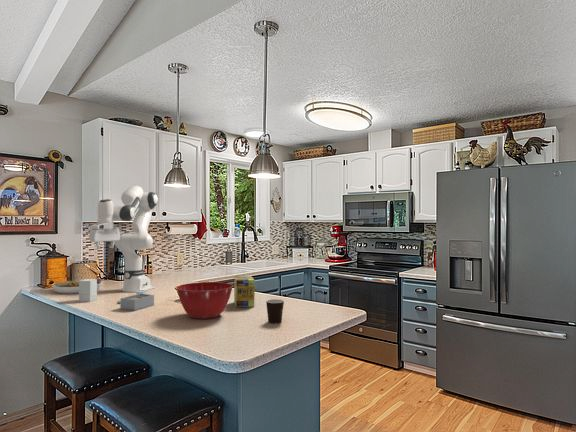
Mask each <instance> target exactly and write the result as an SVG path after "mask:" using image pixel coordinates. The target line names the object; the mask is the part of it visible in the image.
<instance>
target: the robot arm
mask: <svg viewBox="0 0 576 432" xmlns="http://www.w3.org/2000/svg"><path fill="white" fill-rule="evenodd" d="M120 199H121V202H122V204H121V205H118V204H115V203H114V202H113V200H112V199H109V198H107V199H100V200H99V201H98V204H97V220H96V221H97V223H94V224H91V225H90V226H89V237H88V239H89V242H91V243H94V244H95V246H96V250H101V249H102V245H100V242H110V245H108V246H109V249H114V246H115V247H116V248H117V250H119V251H120V253H122V255H123V258H124V259H123V260H124V271H123V275H124V278H123V284H122V285H123V286H122V289H121V290H122V292H124V293H125V292H126V293H127V292H128V293H134V292H136V293H137V292H138V291H144V292H146V291H149V290H152V289H155V288H156V287H155V286H154V285H152V279H150V278H149V277H148V276H146V274H145V273H147V269H143V258H142V256H140V255H138V253H136V251H135V250H139V251H140V250H141V251H142V250H143V251H144V250H149V249H151V248H152V246H153V244H154V239H153V237H152V236H151V235H150V234H149V231H148V229H149V227H150V223H151V220H152V212H153V211H152V210H153V209H154V208H155V207H156V206H157V205H158V202H159V197H158V195H157V193H156V192H153V191H149V192H148V191H144V189H143V188H142V187H141V186H140V185H133V186H130V187H129V188H127V189H126V190H124V191H123V193H121V196H120ZM132 220H133V221H132ZM114 221H120V222H122V221H124V222H130V221H132V222H131V225H130V226H131V229H132V231H133V232H134V233H122V234H121V233H120V232H121V231H120V229H119V228H120V227H118V226H117V225H114Z"/></svg>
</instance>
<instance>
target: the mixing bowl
mask: <svg viewBox="0 0 576 432" xmlns="http://www.w3.org/2000/svg"><path fill="white" fill-rule="evenodd" d="M233 288H234V285H233V284H232V283H227V282H221V281H220V282H218V281H217V282H216V281H214V282H213V281H212V282H211V281H204V282H203V281H202V282H191V283H190V282H189V283H183V284H180V285H177V286H176V290H177V294H178V298H179V300H180V304H181V306H182V307H183V309H184V311H185V313H186V314H187V315H188V316H189V317H191V318H193V319H197V320H199V319H200V320H203V319H204V320H205V319H206V320H207V319H213V318H217V317H219V315H221V314H222V313H223V312H224V310H225V309H226V307H227V305H228V302H229V300H230V298H231V294H232V291H233Z"/></svg>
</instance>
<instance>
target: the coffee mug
mask: <svg viewBox="0 0 576 432" xmlns="http://www.w3.org/2000/svg"><path fill="white" fill-rule="evenodd" d="M284 302H285V300H282V299H275V298H274V299H267V300H266V313H267V322H268V324H276V325H277V324H280V323H282V321H283V311H284V304H285V303H284Z"/></svg>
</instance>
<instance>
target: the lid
mask: <svg viewBox="0 0 576 432" xmlns="http://www.w3.org/2000/svg"><path fill="white" fill-rule="evenodd" d="M137 294H147V292H146V291H138V292H136V295H137ZM117 302H120V299H119V300H117Z"/></svg>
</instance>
